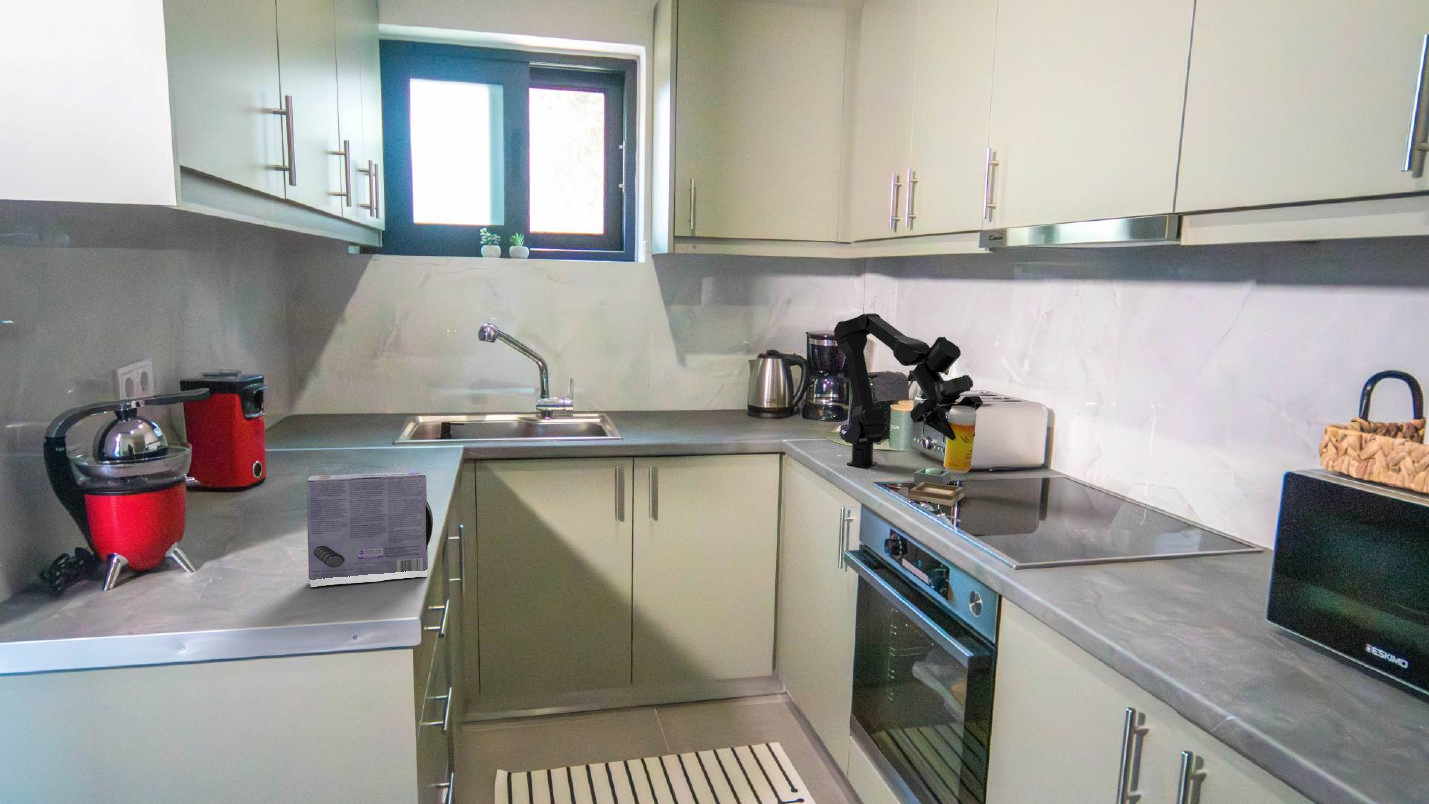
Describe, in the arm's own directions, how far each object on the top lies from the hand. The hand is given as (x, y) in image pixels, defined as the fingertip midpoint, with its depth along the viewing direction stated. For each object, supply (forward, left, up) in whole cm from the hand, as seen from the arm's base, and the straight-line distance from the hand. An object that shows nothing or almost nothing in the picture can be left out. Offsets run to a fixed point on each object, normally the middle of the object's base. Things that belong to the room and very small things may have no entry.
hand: (964, 438), depth 200 cm
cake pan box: (+110, -66, -14) cm, 129 cm away
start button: (-7, -9, -12) cm, 17 cm away
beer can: (-1, -2, -8) cm, 8 cm away
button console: (-7, -9, -13) cm, 17 cm away
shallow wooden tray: (+6, -4, -13) cm, 15 cm away
